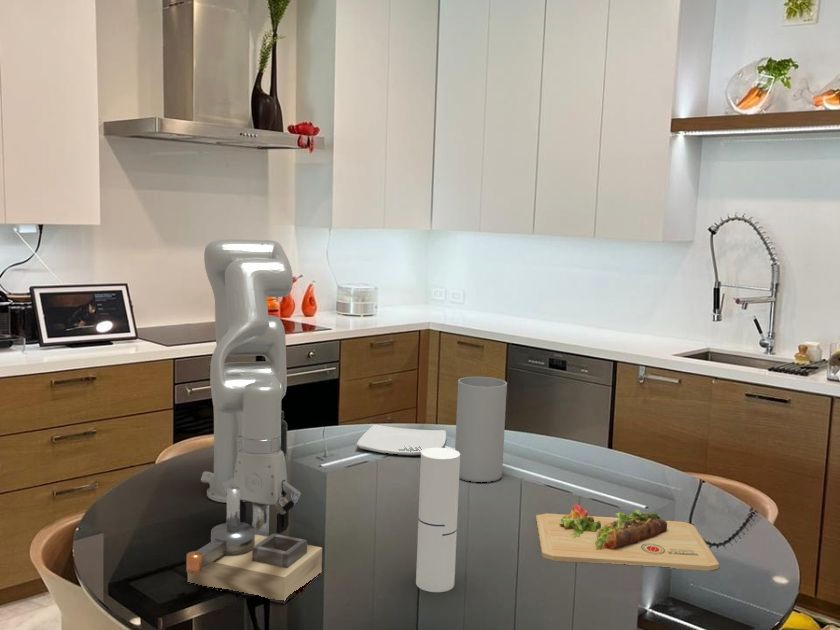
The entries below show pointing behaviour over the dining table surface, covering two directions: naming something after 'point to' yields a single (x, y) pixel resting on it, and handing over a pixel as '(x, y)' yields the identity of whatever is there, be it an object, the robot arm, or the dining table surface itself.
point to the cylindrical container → (437, 519)
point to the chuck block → (264, 568)
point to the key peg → (260, 519)
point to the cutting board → (623, 540)
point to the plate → (400, 440)
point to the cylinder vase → (480, 428)
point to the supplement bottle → (283, 434)
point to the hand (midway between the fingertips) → (260, 527)
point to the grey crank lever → (224, 537)
